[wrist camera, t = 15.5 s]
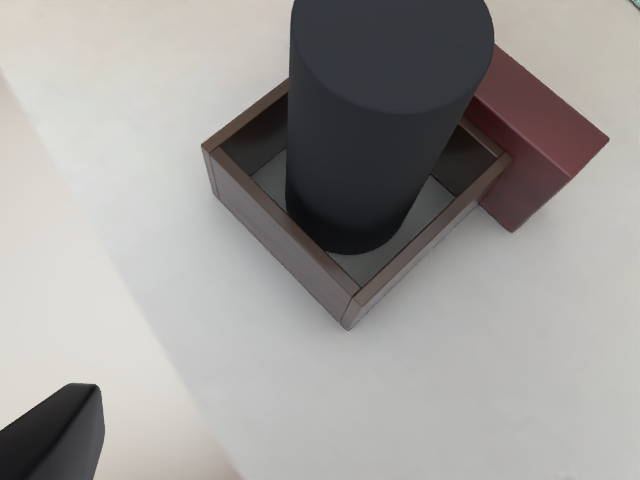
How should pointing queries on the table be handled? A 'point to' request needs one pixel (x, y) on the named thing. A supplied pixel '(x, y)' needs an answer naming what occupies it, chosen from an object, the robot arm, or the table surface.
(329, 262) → the brown square frame
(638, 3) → the cloth
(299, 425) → the table surface
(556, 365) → the table surface
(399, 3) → the dark grey cylinder
